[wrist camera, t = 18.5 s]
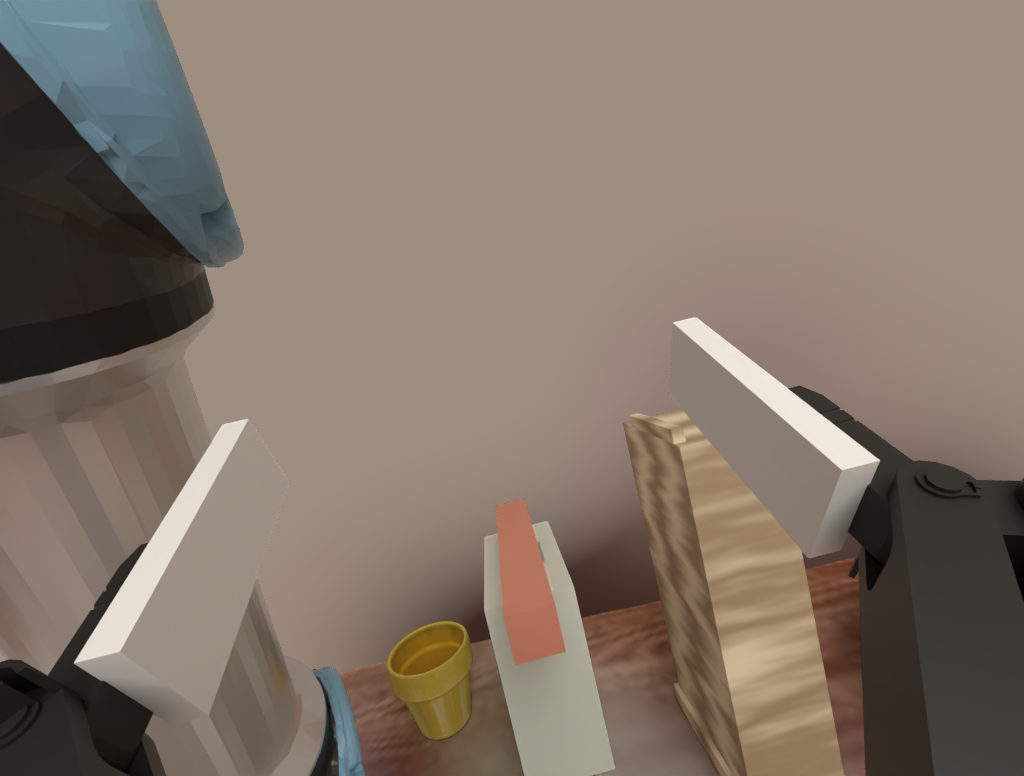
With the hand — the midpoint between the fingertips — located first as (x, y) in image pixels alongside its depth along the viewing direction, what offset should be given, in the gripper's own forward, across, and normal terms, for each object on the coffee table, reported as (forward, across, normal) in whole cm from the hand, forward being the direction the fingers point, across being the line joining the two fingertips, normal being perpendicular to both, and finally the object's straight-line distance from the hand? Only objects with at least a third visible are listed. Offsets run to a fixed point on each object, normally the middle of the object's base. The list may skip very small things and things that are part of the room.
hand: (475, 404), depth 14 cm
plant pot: (+13, -14, -56) cm, 59 cm away
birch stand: (+1, +18, -49) cm, 52 cm away
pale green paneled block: (+10, 0, -54) cm, 55 cm away
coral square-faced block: (+16, 0, -35) cm, 38 cm away
